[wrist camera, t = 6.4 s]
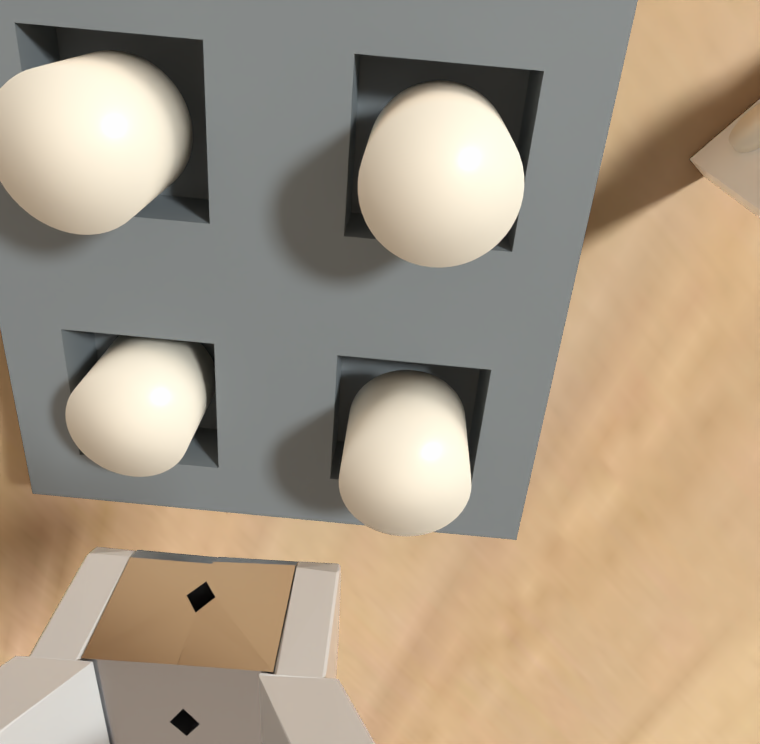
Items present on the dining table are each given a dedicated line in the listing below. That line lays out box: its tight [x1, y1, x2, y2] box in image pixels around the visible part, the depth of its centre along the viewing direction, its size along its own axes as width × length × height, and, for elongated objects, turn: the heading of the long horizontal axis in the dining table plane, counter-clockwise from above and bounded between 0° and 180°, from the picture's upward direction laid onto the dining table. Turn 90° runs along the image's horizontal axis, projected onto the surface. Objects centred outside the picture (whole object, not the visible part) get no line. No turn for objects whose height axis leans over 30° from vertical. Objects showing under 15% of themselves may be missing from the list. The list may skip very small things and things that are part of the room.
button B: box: [0, 50, 193, 235], centre depth 19 cm, size 4×4×4 cm
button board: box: [0, 0, 638, 540], centre depth 24 cm, size 18×18×3 cm
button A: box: [65, 335, 216, 477], centre depth 25 cm, size 4×4×4 cm
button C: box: [339, 370, 471, 536], centre depth 23 cm, size 4×4×4 cm
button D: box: [358, 80, 524, 268], centre depth 19 cm, size 4×4×4 cm
